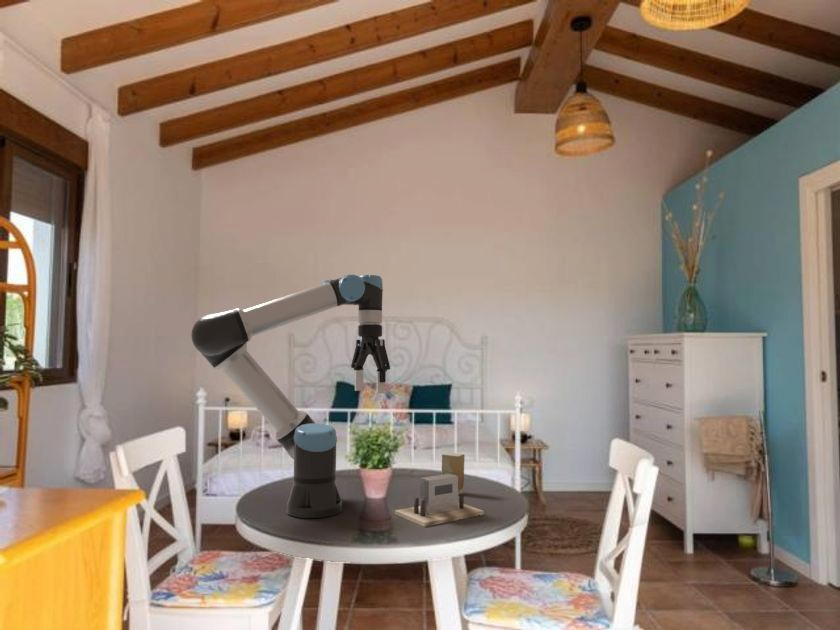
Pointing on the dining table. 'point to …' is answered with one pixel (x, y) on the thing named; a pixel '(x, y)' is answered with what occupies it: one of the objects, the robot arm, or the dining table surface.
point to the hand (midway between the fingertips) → (369, 391)
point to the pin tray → (433, 519)
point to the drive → (439, 493)
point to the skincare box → (454, 467)
